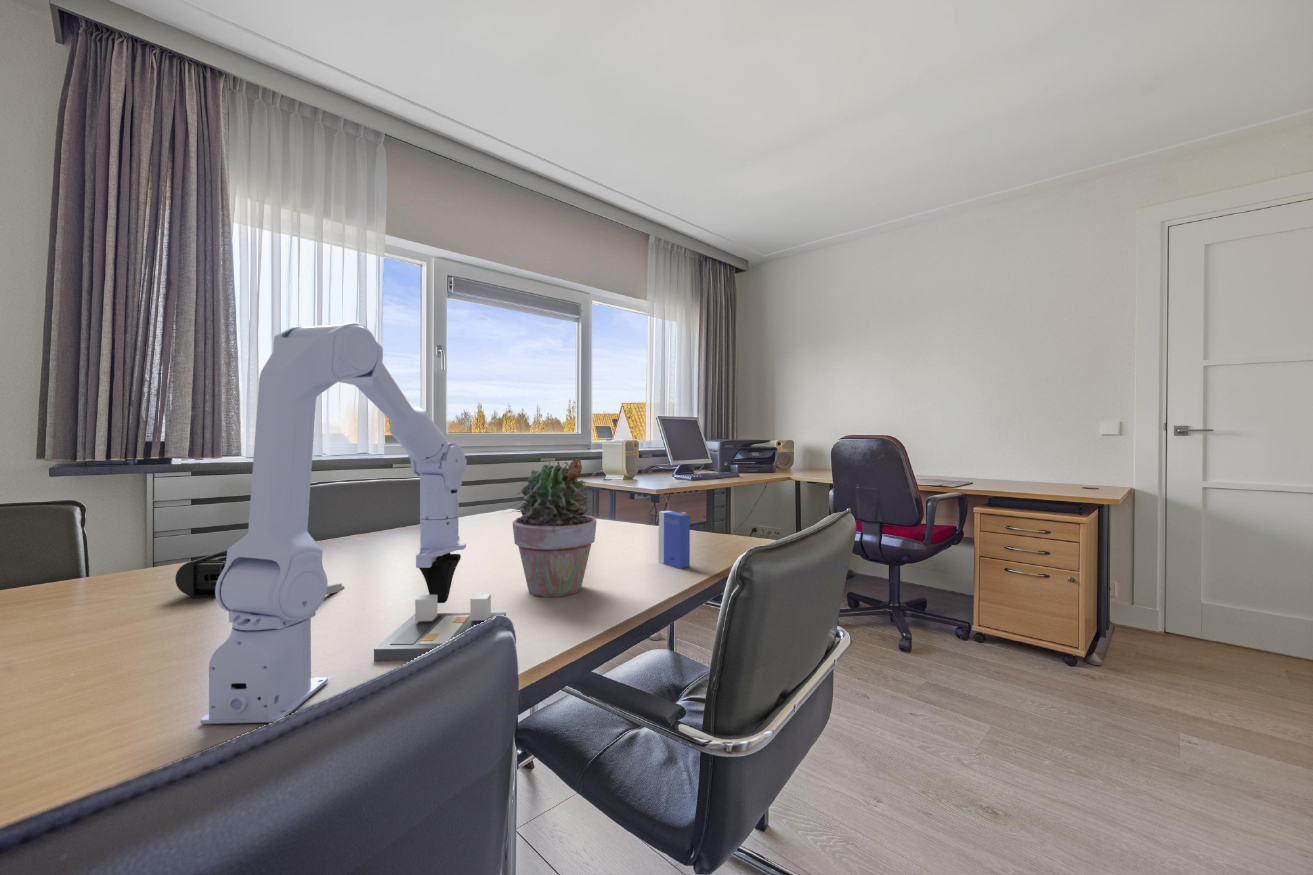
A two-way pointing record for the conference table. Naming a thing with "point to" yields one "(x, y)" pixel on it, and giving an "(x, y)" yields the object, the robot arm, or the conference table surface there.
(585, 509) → the potted plant
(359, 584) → the conference table surface
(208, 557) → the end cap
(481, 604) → the switch
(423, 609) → the switch
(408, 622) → the dip bank
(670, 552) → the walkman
